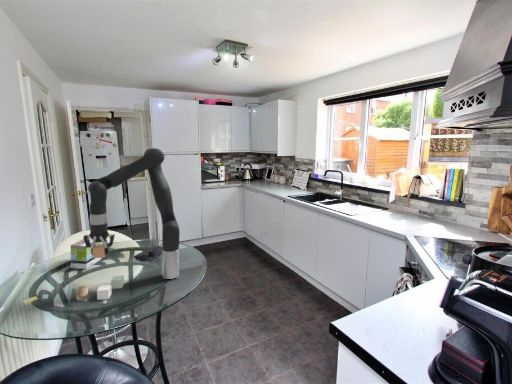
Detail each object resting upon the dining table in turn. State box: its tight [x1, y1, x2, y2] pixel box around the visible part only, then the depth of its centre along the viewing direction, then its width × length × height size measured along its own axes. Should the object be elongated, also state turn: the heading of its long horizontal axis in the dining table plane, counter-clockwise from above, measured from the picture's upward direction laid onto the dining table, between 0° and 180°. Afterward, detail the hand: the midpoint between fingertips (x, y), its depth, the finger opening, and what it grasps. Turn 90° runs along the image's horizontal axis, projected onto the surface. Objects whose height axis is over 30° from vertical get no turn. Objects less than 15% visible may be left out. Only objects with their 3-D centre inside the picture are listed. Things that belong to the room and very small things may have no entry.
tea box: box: [70, 237, 102, 270], centre depth 167 cm, size 15×10×15 cm
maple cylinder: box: [75, 285, 89, 302], centre depth 132 cm, size 5×5×5 cm
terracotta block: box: [92, 243, 107, 259], centre depth 135 cm, size 5×5×5 cm
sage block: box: [110, 274, 125, 290], centre depth 144 cm, size 5×5×5 cm
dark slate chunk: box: [133, 245, 162, 262], centre depth 187 cm, size 15×22×5 cm
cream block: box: [96, 284, 113, 301], centre depth 134 cm, size 5×5×5 cm
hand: (100, 254), depth 135 cm, fingers closed on terracotta block, 5 cm apart
